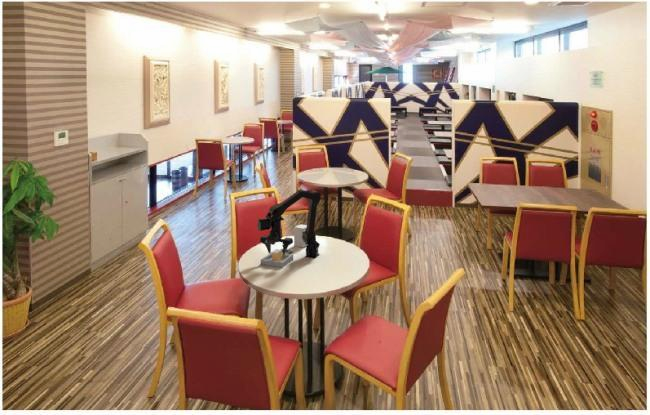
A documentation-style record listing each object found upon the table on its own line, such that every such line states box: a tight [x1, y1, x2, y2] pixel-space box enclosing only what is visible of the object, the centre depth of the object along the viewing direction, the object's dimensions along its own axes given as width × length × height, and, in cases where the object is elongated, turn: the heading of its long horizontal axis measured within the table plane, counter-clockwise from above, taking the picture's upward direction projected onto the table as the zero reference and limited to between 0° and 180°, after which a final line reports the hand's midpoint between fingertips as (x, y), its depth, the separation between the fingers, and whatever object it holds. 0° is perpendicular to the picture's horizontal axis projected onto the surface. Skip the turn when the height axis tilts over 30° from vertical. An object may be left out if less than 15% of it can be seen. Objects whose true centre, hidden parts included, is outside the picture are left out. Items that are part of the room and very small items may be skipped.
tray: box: [260, 251, 294, 269], centre depth 300 cm, size 14×14×3 cm
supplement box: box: [293, 223, 307, 248], centre depth 328 cm, size 7×7×13 cm
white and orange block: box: [272, 248, 283, 261], centre depth 300 cm, size 4×6×6 cm, turn 159°
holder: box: [279, 248, 293, 255], centre depth 314 cm, size 8×10×1 cm
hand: (276, 254), depth 299 cm, fingers open, 9 cm apart
